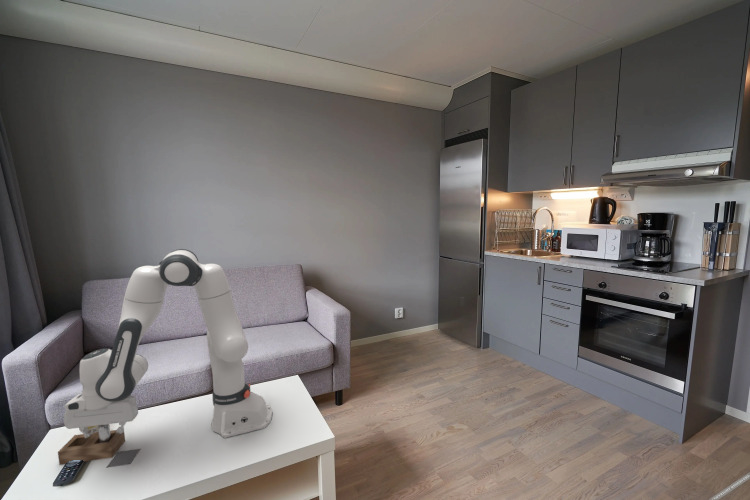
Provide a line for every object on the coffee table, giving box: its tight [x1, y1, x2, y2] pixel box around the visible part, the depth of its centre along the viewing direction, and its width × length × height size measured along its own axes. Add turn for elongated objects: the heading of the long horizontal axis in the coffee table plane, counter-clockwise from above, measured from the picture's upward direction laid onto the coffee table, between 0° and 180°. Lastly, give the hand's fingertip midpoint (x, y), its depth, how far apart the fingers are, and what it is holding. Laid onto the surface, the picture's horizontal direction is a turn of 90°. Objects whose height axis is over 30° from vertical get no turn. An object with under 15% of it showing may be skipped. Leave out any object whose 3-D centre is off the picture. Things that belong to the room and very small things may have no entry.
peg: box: [98, 424, 111, 443], centre depth 111 cm, size 3×3×10 cm
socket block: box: [57, 429, 126, 466], centre depth 110 cm, size 15×8×5 cm, turn 102°
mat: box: [105, 448, 141, 469], centre depth 108 cm, size 7×7×1 cm
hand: (104, 434), depth 111 cm, fingers open, 8 cm apart
